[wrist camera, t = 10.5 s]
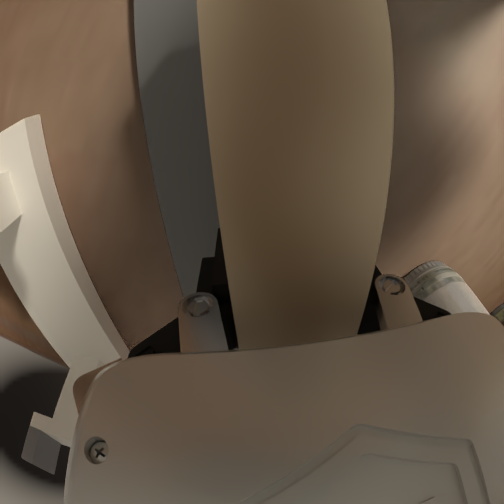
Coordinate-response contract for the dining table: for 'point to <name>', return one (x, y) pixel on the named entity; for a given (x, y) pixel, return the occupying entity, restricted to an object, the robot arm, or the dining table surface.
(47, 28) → the dining table surface
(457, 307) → the camera lens
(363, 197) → the rail
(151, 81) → the mat
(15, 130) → the hook stand
